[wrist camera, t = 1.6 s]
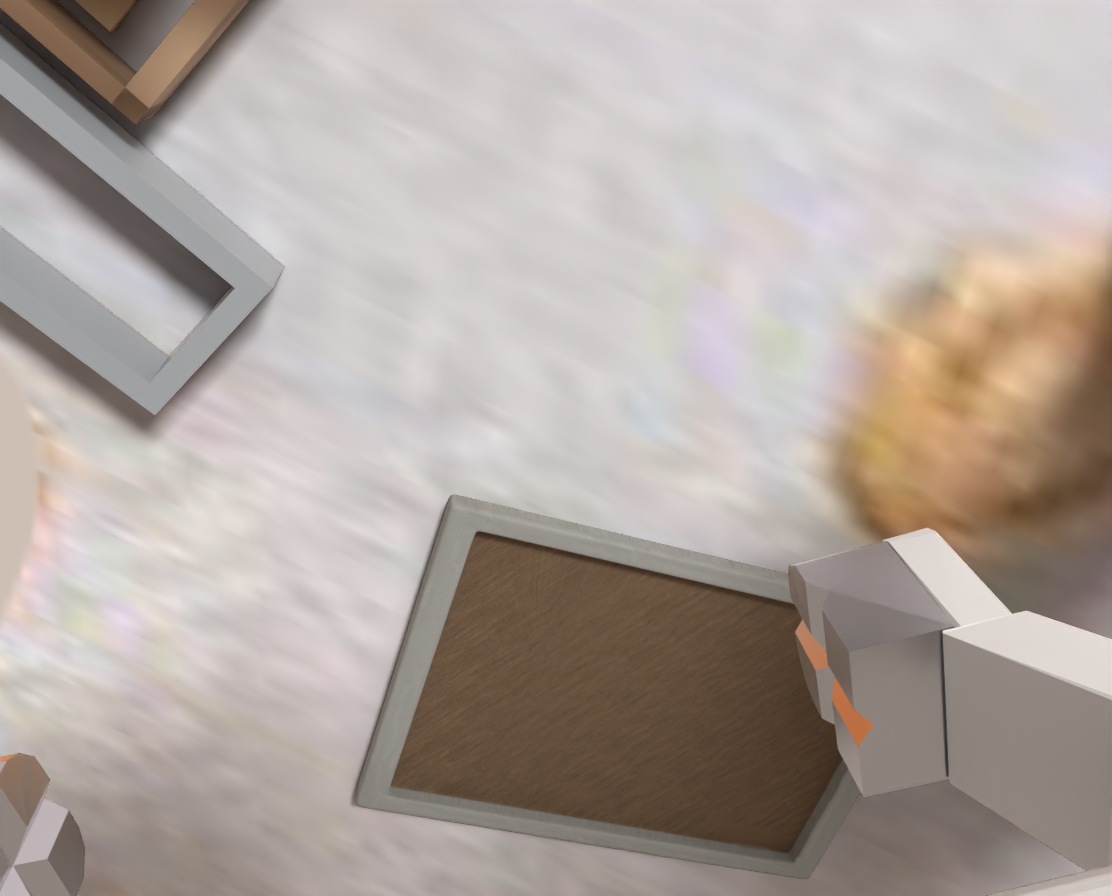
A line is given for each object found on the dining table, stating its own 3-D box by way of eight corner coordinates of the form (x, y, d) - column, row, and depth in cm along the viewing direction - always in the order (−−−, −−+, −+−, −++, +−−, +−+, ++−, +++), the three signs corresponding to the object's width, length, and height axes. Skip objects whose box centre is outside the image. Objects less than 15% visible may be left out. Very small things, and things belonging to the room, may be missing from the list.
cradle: (-79, -46, 34) (-125, -47, 32) (284, 266, 40) (272, 287, 38) (-190, 111, 36) (-242, 122, 33) (173, 387, 42) (154, 415, 39)
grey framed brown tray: (450, 504, 45) (1003, 635, 51) (450, 487, 46) (988, 617, 53) (353, 807, 52) (847, 888, 59) (356, 784, 54) (838, 865, 60)
